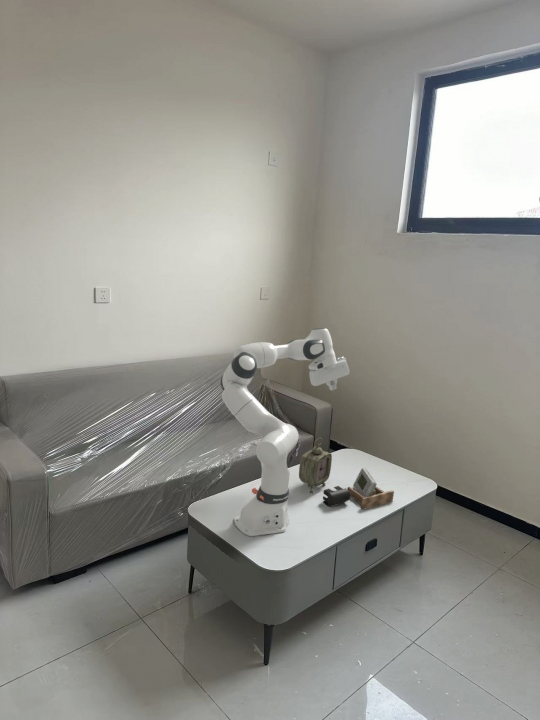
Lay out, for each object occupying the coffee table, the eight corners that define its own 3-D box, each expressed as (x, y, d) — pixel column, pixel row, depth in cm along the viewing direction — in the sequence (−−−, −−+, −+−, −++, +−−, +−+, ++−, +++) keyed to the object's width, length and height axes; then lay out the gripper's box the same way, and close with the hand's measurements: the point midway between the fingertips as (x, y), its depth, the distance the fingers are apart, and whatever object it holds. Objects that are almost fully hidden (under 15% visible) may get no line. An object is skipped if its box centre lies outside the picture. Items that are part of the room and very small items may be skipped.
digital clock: (352, 486, 239) (355, 465, 236) (371, 488, 238) (374, 467, 236) (355, 503, 223) (358, 481, 220) (376, 505, 223) (379, 483, 220)
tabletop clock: (312, 496, 226) (317, 445, 220) (295, 489, 231) (300, 439, 225) (328, 485, 237) (334, 436, 231) (312, 479, 242) (317, 431, 236)
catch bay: (362, 509, 218) (363, 499, 217) (342, 494, 230) (343, 484, 228) (392, 501, 227) (394, 491, 226) (372, 487, 239) (373, 477, 238)
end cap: (332, 510, 216) (333, 496, 214) (321, 502, 221) (323, 488, 220) (349, 504, 221) (351, 491, 220) (338, 497, 227) (340, 484, 225)
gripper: (341, 355, 241) (347, 382, 243) (305, 367, 233) (312, 395, 235) (348, 355, 236) (355, 383, 238) (312, 367, 227) (319, 396, 229)
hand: (333, 389), depth 236 cm, fingers closed
